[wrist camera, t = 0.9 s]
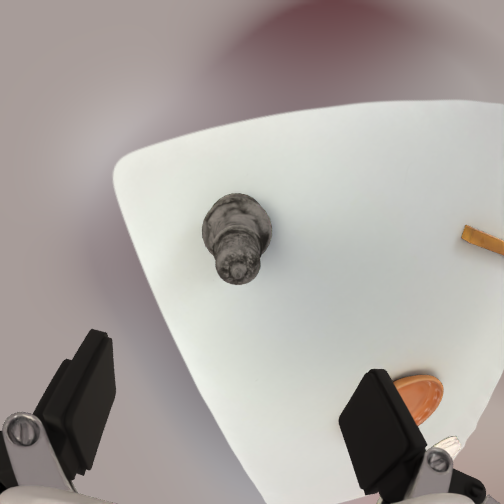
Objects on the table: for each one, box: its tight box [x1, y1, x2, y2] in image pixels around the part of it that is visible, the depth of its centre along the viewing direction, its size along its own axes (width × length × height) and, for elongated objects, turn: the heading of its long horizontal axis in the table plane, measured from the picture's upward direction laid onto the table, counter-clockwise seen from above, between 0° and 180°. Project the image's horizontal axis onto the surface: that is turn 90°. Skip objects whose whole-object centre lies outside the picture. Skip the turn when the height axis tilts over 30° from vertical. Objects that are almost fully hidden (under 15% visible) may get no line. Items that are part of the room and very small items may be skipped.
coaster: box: [434, 436, 461, 458], centre depth 51 cm, size 10×10×4 cm
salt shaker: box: [202, 193, 272, 285], centre depth 23 cm, size 6×6×12 cm
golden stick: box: [461, 225, 504, 255], centre depth 31 cm, size 2×14×2 cm, turn 77°
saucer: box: [393, 375, 443, 426], centre depth 40 cm, size 16×16×3 cm
